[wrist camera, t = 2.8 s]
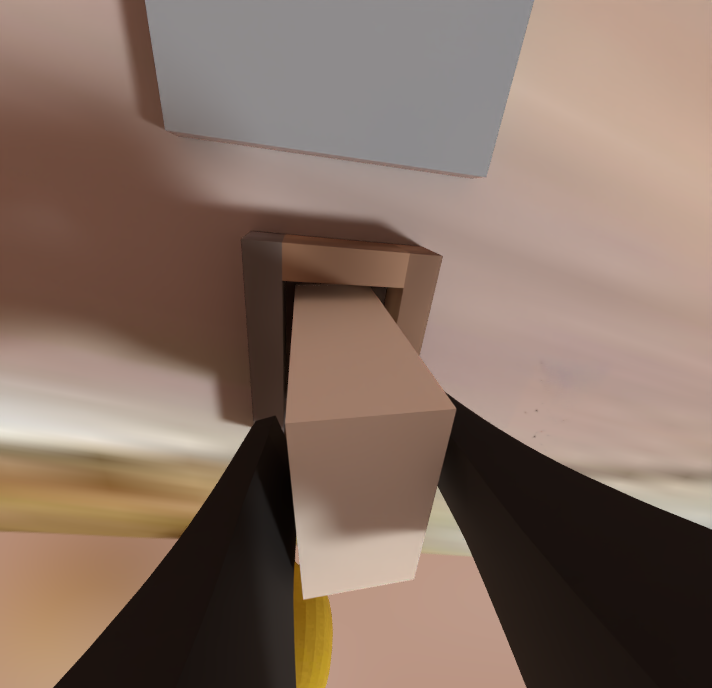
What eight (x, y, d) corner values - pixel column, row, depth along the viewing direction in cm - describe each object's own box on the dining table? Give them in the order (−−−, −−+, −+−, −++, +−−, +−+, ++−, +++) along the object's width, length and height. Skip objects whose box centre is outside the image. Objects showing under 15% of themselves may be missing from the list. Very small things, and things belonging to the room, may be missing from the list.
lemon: (246, 582, 21) (218, 775, 14) (249, 538, 19) (218, 743, 12) (321, 576, 22) (330, 750, 15) (333, 533, 20) (349, 716, 13)
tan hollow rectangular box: (422, 246, 12) (442, 256, 10) (385, 425, 16) (395, 454, 14) (250, 230, 10) (241, 239, 9) (261, 430, 15) (256, 462, 13)
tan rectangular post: (368, 283, 12) (457, 409, 5) (361, 398, 15) (413, 579, 8) (295, 284, 12) (284, 423, 5) (303, 402, 14) (303, 599, 7)
